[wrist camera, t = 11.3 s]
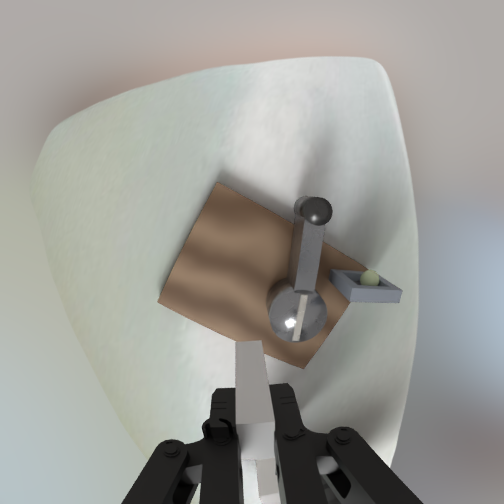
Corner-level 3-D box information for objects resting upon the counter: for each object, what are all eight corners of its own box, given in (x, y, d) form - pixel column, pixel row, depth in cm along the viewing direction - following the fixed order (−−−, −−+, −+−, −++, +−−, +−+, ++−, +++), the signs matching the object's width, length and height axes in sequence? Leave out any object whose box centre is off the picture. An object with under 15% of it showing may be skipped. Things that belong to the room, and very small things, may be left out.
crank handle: (311, 325, 38) (323, 347, 32) (262, 323, 37) (267, 345, 32) (333, 200, 34) (350, 202, 29) (279, 192, 34) (288, 192, 28)
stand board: (301, 363, 42) (303, 370, 40) (159, 297, 38) (156, 302, 36) (365, 267, 39) (370, 270, 37) (218, 182, 35) (217, 181, 33)
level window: (372, 283, 37) (399, 302, 30) (328, 280, 37) (349, 301, 29) (376, 265, 37) (404, 281, 29) (332, 260, 36) (354, 278, 29)
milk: (293, 417, 44) (318, 516, 23) (262, 427, 44) (275, 526, 23) (283, 398, 43) (308, 504, 22) (250, 408, 43) (260, 515, 22)
